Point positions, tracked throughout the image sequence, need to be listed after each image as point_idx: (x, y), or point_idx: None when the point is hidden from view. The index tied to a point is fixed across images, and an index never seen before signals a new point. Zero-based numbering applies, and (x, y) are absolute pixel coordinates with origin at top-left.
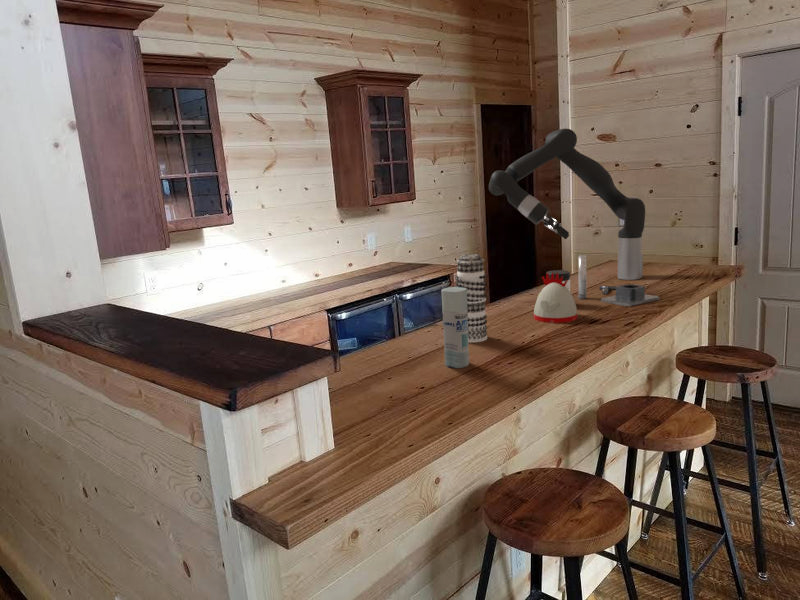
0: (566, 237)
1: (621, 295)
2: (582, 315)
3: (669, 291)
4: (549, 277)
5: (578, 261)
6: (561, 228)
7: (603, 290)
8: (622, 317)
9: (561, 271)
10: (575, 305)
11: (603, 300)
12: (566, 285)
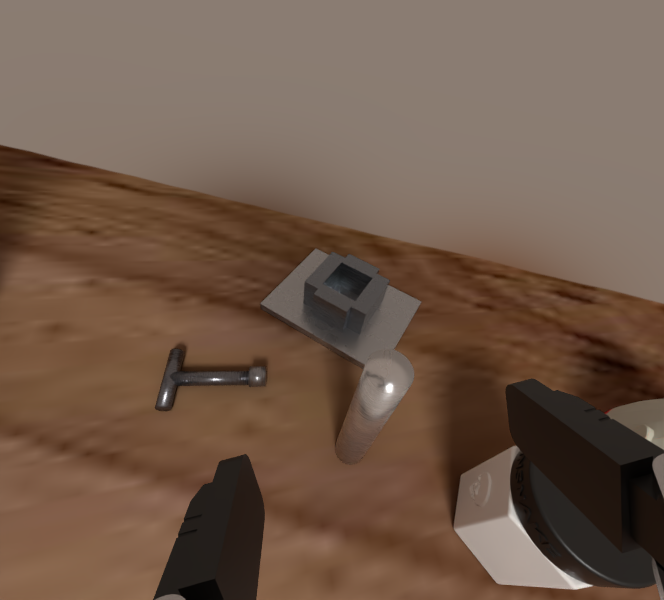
0: (257, 495)
1: (371, 314)
2: None
3: (210, 236)
4: None
5: (392, 406)
6: (655, 450)
7: (265, 378)
8: (530, 311)
9: None
10: (649, 400)
11: None
12: None
